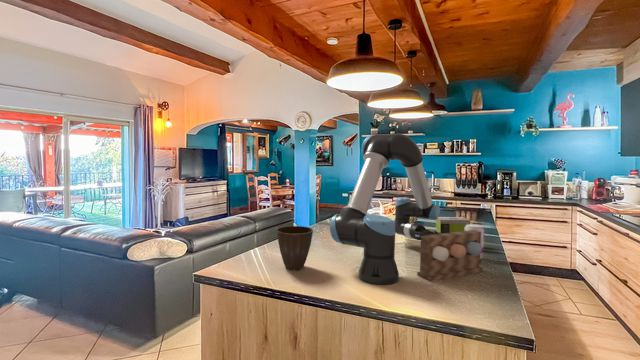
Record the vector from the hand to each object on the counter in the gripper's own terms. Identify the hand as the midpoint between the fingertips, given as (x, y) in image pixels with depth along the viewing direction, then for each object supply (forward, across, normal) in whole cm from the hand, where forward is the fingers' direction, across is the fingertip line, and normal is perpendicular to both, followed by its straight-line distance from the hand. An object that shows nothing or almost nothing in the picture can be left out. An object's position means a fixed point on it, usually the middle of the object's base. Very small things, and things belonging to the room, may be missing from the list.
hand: (453, 242), depth 144 cm
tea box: (-24, -26, -10) cm, 36 cm away
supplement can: (-4, -17, -10) cm, 20 cm away
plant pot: (-24, +64, -10) cm, 69 cm away
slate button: (+8, +1, -2) cm, 9 cm away
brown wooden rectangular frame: (+8, +10, -10) cm, 16 cm away
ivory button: (+8, +19, -2) cm, 21 cm away
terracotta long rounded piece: (+8, +10, -2) cm, 13 cm away
